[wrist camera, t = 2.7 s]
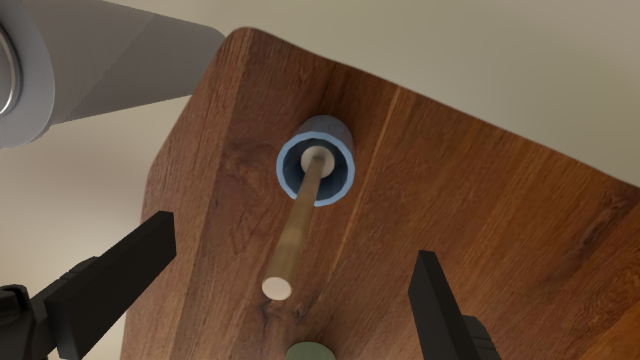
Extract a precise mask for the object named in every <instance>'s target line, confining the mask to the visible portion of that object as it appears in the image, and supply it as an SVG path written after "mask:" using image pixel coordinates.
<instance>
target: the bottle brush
mask: <svg viewBox="0 0 640 360" xmlns="http://www.w3.org/2000/svg"><path fill="white" fill-rule="evenodd" d="M336 153H337V146H336V145H334V144H332V143H330V142H329V141H327V140H324V139H317V138H311V139H310V141H309V143H308V145H307V147H306V149H305V151H304V152H303V154H302V157H301V166H302V169H303V170H304V172H305V173H306V174H305V176H304V179H303V181H302V184H301V186H300V189H299V191H298V194H297V196H296V199H295V201H294V204H293V206H292V209H291V211H290V214H289V216H288V219H287V222H286V224H285V227H284V229H283V232H282V234H281V237H280V239H279V242H278V244H277V247H276V249H275V252H274V254H273V257H272V259H271V262H270V264H269V267H268V269H267V272H266V274H265V277H264V279H263V282H262V289H263V292H264V293H265V294H266V295H267V296H268V297H269V298H271V299H274V300H284V299H286V298H288V297H289V296H290V295H291V293H292V291H293V287H294V283H295V279H296V275H297V271H298V267H299V263H300V259H301V255H302V251H303V247H304V243H305V239H306V235H307V232H308V228H309V224H310V220H311V216H312V212H313V208H314V204H315V200H316V196H317V192H318V188H319V184H320V180H321V178H324V177H326V176H328V175H329V174H330V173H331V172H332V171H333V169H334V166H335V160H336Z"/></svg>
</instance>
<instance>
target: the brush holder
mask: <svg viewBox="0 0 640 360" xmlns="http://www.w3.org/2000/svg"><path fill="white" fill-rule="evenodd" d="M311 138H317V139H324V140H327V141H329V142H330V143H332V144H334V145H336V146H337V153H336V160H335V166H334V169H333V171H332V172H331V173H330V174H329V175H328V176H326V177H324V178H321V180H320V184H319V188H318V192H317V196H316V200H315V204H314V206H322V205H327V204H332V203H334V202H335V201H337V200H338V199H340V198H341V197H343V196H344V195H345V194H346V193H347V191H348V190H349V188H350V187H351V185H352V183H353V179H354V173H355V154H354V142H353V137H352V134H351V132H350V130H349V129H348V127H347V126H346V125H345V124H344V123H343V122H342V121H340V120H339V119H337V118H335V117H332V116H328V115H318V116H314V117H311V118H309V119H307V120H306V121H304V122H303V123H302V124H301V125H300V126H299V127H298V128H297V129H296V130H295V132H294V133H293V134H292V135H291V137H290V138H289V139H288V140H287V142H286V143H285V144H284V146H283V147H282V149H281V151H280V153H279V155H278V157H277V167H276V173H277V176H278V179H279V182H280V184H281V187H282V188H283V189H284V190H285V191H286V192H287V194H288V195H289V196H290V197H291V198H293V199H296V196H297V194H298V191H299V189H300V186H301V184H302V181H303V179H304V176H305V174H306V173H305V172H304V170H303V169H302V166H301V157H302V154H303V152H304V151H305V149H306V147H307V145H308V143H309V141H310V139H311Z"/></svg>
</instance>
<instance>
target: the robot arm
mask: <svg viewBox="0 0 640 360" xmlns="http://www.w3.org/2000/svg"><path fill="white" fill-rule="evenodd" d="M22 90H23V71H22V66H21V61H20V58H19V55H18V52H17V50H16V47H15V45H14V43H13V41H12V39H11V37H10V36H9V34H8V32H7V31H6V29H5V28H4V26H3V25H2V24H1V22H0V118H1V117H4V116H6V115H7V114H9V113H10V112H11V111H12V110H13V109H14V108H15V107H16V105H17V104H18V102H19V100H20V98H21V95H22ZM175 256H176V242H175V229H174V215H173V212H166V211H158V212H157V213H156V214H154V215H153V216H152V217H150V218H149V219H148V220H147V221H145V222H144V223H143V224H141V225H140V226H139V227H137V228H136V229H135V230H134V231H132V232H131V233H130V234H128V235H127V236H126V237H124V238H123V239H122V240H121V241H119V242H118V243H117V244H115V245H114V246H113V247H111V248H110V249H109V250H108V251H106V252H105V253H104V254H102V255H101V256H100V257H95V256H93V257H91V258H89V259H87V260H85V261H82V262H80V263H79V264H77V265H76V266H75V267H73V268H72V269H70V270H69V272H66V273H65V274H64V275H62V276H61V277H60V278H59V279H57V280H55V281H54V282H53V283H51V284H50V285H49V286H47V287H46V288H45V289H43V290H42V291H40V292H39V293H38V294H36V295H35V296H34V297H32V298H31V299H30V298H29V295H28V292H27V288H26V287H25V286H23V285H16V284H13V285H6V286H2V287H0V360H48V356H47V355H48V354H49V353H50V352H51V351H53V349H55V348H56V347H57V350H58V354H59V357H60V358H61V359H67V360H82V358H83V357H84V356H85V355H86V354H87V353H88V352H89V351H90V350H91V349H92V348H93V346H94V345H95V344H96V343H97V342H98V341H99V340H100V339H101V338H102V337H103V336H104V334H105V333H106V332H107V331H108V330H109V329H110V328H111V327H112V326H113V324H114V323H115V322H116V321H117V320H118V319H119V318H120V317H121V316H122V314H124V312H125V311H126V310H127V309H128V308H129V307H130V306H131V305H132V304H133V303H134V301H135V300H136V299H137V298H138V297H139V296H140V295H141V294H142V293H143V292H144V290H145V289H146V288H147V287H148V286H149V285H150V284H151V283H152V282H153V281H154V280H155V278H156V277H157V276H158V275H159V274H160V273H161V272H162V271H163V270H164V269H165V267H166V266H167V265H168V264H169V263H170V262H171V261H172V260H173V259H174V258H175ZM408 295H409V299H410V303H411V307H412V311H413V315H414V320H415V324H416V328H417V332H418V336H419V340H420V345H421V349H422V353H423V357H424V360H501V358H500V356H499V354H498V352H497V351H496V348H495V346H494V344H493V342H492V341H491V338H490V336H489V334H488V332H487V330H486V328H485V327H484V326H483V325H482V324H481V322H480V321H479V320H478V319H477V318H476V317H473V316H467V315H462V314H461V312H460V310H459V307H458V305H457V303H456V300H455V298H454V296H453V294H452V291H451V289H450V287H449V284H448V282H447V280H446V277H445V275H444V273H443V270H442V268H441V266H440V263H439V261H438V259H437V256H436V254H435V252H431V251H424V250H419V254H418V257H417V261H416V264H415V268H414V272H413V275H412V279H411V283H410V286H409V290H408Z"/></svg>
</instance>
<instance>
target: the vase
mask: <svg viewBox="0 0 640 360" xmlns="http://www.w3.org/2000/svg"><path fill="white" fill-rule="evenodd" d="M284 360H336V358H335V356H334V354H333V353H332V351H331V350H329V349H328V348H327V347H325V346H324V345H321V344H319V343H315V342H300V343H297V344H295V345H293V346H291V347H290V348H289V349H288V351H287V352H286V355H285V359H284Z"/></svg>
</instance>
